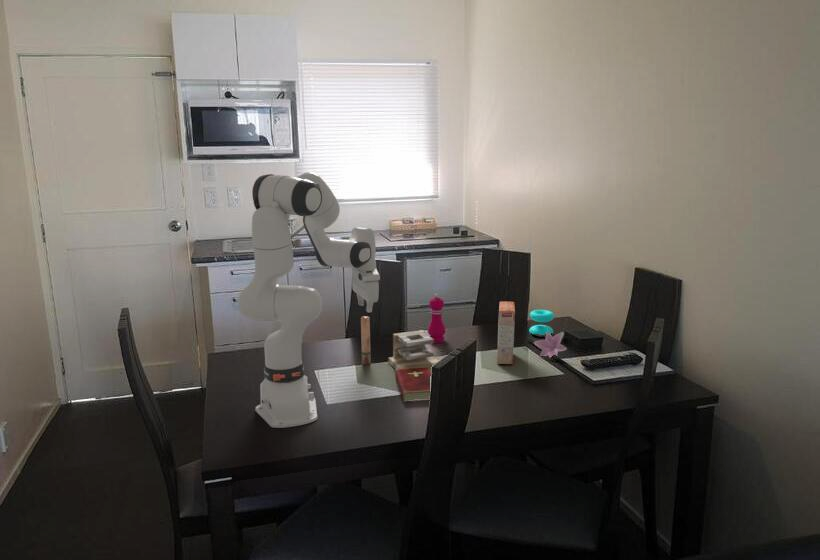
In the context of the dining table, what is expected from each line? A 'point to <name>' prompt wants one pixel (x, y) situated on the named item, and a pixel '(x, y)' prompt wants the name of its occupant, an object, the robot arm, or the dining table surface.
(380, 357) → the dining table surface
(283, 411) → the robot arm
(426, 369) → the hardcover book
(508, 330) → the cracker box
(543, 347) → the lily
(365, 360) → the copper tube
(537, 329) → the donuts
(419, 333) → the collar stand
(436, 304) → the pepper mill
